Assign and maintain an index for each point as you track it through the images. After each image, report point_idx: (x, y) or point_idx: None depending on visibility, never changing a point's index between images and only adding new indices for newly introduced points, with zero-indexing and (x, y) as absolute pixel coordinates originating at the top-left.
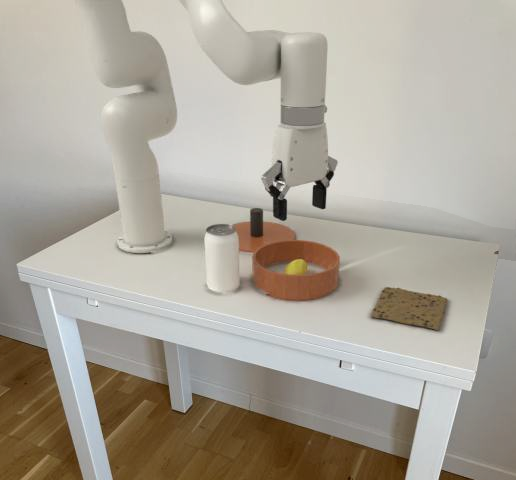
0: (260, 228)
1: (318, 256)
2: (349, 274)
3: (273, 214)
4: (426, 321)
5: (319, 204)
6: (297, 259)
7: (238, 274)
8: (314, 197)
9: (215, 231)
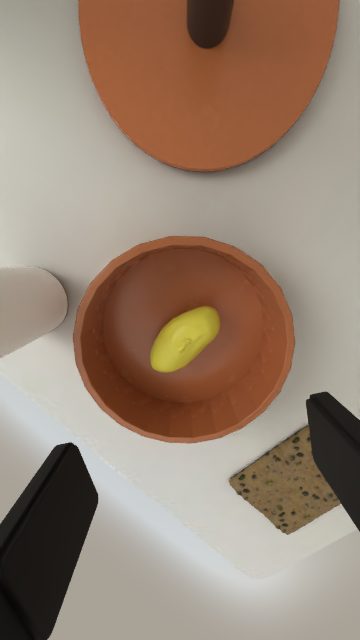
0: (216, 18)
1: (267, 302)
2: (295, 351)
3: (53, 450)
4: (283, 525)
5: (322, 458)
6: (198, 328)
7: (46, 329)
8: (337, 448)
9: None
